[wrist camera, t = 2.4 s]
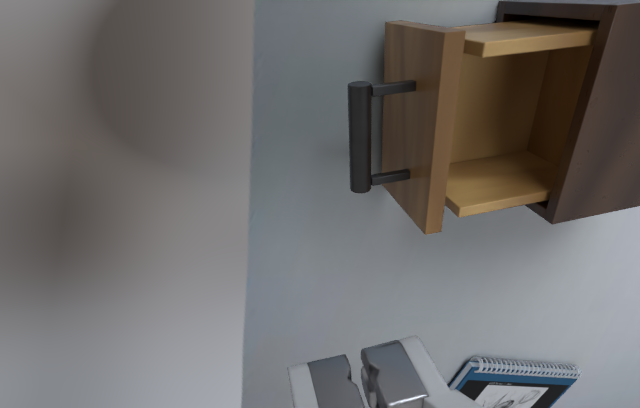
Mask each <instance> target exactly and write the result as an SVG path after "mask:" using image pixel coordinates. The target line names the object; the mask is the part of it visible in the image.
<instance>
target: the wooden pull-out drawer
mask: <svg viewBox="0 0 640 408" xmlns="http://www.w3.org/2000/svg"><path fill="white" fill-rule="evenodd" d="M599 24H600V21H596V20H583V19H570V18H556V17H550V18H540V19H530V20H520V21H510V22H500V23H490V24H480V25H469V26H459V27H449V28H447V27H440V26H434V25H427V24H421V23H414V22H407V21H391V22H385V60H384V83H381V84H373V85H372V84H371V83H370V82H366V81H356V82H351V83H349V84H348V118H349V158H350V189H351V191H353V192H355V193H366V192H368V191H370V189H371V185H372V186H374V185H380V184H382V185H383V186H384V188H385V189H386V190H387V191H388V192H389V193H390V195H391V196H392V197H393V198H394V199H395V200H396V202H397V203H398V204H399V205H400V206H401V207H402V209H403V210H404V211H405V212H406V213H407V214H408V215H409V217H410V218H411V219H412V220H413V221H414V222H415V224H416V225H417V226H418V227H419V228H420V229H421V231H422V232H423V233H424V234H425V235H427V234H432V233H437V232H441V229H442V221H443V213H444V205H446V206H447V207H448V208H449V209H450V210H451V211H452V212H453V213H454V214H455V215H456V216H458V217H465V216H470V215H475V214H480V213H485V212H490V211H495V210H500V209H505V208H510V207H515V206H520V205H525V204H530V203H536V202H541V201H546V200H549V199H550V195H551V192H552V188H553V185H554V181H555V178H556V174H557V171H558V167H559V164H560V160H561V157H562V153H563V150H564V146H565V143H566V139H567V136H568V132H569V129H570V125H571V122H572V118H573V115H574V111H575V108H576V104H577V101H578V97H579V94H580V90H581V87H582V83H583V80H584V76H585V73H586V69H587V66H588V62H589V59H590V55H591V52H592V48H593V45H594V41H595V38H596V34H597V31H598V27H599ZM382 95H384V103H383V147H382V173H378V174H372V175H371V101H372V96H373V97H375V96H382Z"/></svg>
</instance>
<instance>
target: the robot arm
mask: <svg viewBox="0 0 640 408" xmlns="http://www.w3.org/2000/svg"><path fill="white" fill-rule="evenodd" d="M361 360H362V363H363V365H364V366H363V367H362V369H361V379H362V385H363V389H364V393H365V396H366V399H367V402H368V405H369V407H370V408H484V407H482V406H481V405H479V404H478V403H476V402H475V401H473V400H472V399H470V398H469V397H467V396H466V395H464V394H463V393H461V392H459V391H458V390H456V389H455V390H450V389H449V387H448V386H447V384H446V382H445V380H444V379H443V377H442V375H441V374H440V372H439V370H438V369H437V367H436V365H435V364H434V362H433V360H432V359H431V357H430V355H429V354H428V352H427V350H426V349H425V347H424V345H423V343H422V342H421V340H420V339H419V338H418V337H417V336H411V337H408V338H404V339H400V340H394V341H390V342H386V343H382V344H379V345H375V346H371V347H368V348H364V349H362V350H361ZM288 375H289V381H290V387H291V393H292V399H293V405H294V408H365V407H364V404H363V401H362V398H361V395H360V392H359V389H358V386H357V385H356V384H355V383H353V382H352V381H351V367H350V364H349V361H348V359H347V357H346V355H345V354H343V355H338V356H334V357H330V358H325V359H321V360H316V361H312V362H308V363H303V364H299V365H295V366H291V367H288Z"/></svg>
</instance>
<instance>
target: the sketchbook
mask: <svg viewBox="0 0 640 408" xmlns="http://www.w3.org/2000/svg"><path fill="white" fill-rule="evenodd" d="M473 359H475V360H474V361H472V360H473ZM482 359H484V362H483V360H482ZM476 360H478V361H476ZM487 360H489V362H488V361H487ZM492 360H494V361H492ZM497 360H498V362H497ZM502 361H503V362H502ZM506 361H508V362H506ZM510 361H512V363H511V362H510ZM495 362H496V363H495ZM504 362H505V363H504ZM524 362H525V363H524ZM509 363H510V364H509ZM513 363H514V364H513ZM518 364H519V365H518ZM522 364H523V365H522ZM526 364H527V365H526ZM530 364H531V365H532V366H531V365H530ZM534 365H536V366H534ZM539 365H540V366H539ZM543 365H544V366H545V367H543ZM547 365H548V367H547ZM551 365H552V367H550V366H551ZM554 366H556V367H554ZM559 366H560V368H559ZM562 367H564V368H562ZM566 367H568V368H566ZM574 367H575V368H576V369H574ZM571 368H572V369H571ZM578 369H579V370H578ZM579 371H580V374H579ZM580 377H581V370H580V368H579V367H578V366H576V365H569V364H567V365H566V364H557V363H556V364H555V363H545V362H544V363H543V362H534V361H531V362H530V361H521V360H519V361H517V360H507V359H505V360H504V359H497V358H496V359H494V358H491V359H490V358H484V357H482V358H480V357H472V358H471V360H470V361H468V362H467V363H466V364H465V366H464V367H463V368H462V370H461V371H460V372H459V374H458V375H457V376H456V377H455V379H454V380H453V381H452V383H451V384H450V385H449V389H450V390H455V389H456V390H458V391H459V392H461V393H463V394H464V395H466V396H467V397H469V398H470V399H472V400H473V401H475V402H476V403H478V404H479V405H481V406H482V407H484V408H550V407H551V406H552V405H553V404H554V403H555V402H556V401H557V400H558V399H559V398H560V397H561V396H562V395H563V394H564V393H565V392H566V390H567V389H568V388H569V387H570V386H571V385H572V384H573V383H574V382H575V381H576V380H577V379H578V378H580Z"/></svg>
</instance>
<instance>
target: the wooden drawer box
mask: <svg viewBox="0 0 640 408" xmlns="http://www.w3.org/2000/svg"><path fill="white" fill-rule="evenodd" d="M550 17H556V18H570V19H583V20H596V21H600V24H599V27H598V31H597V34H596V38H595V41H594V45H593V48H592V52H591V55H590V59H589V62H588V66H587V69H586V73H585V76H584V80H583V83H582V87H581V90H580V94H579V97H578V101H577V104H576V108H575V111H574V115H573V118H572V122H571V125H570V129H569V132H568V136H567V139H566V143H565V146H564V150H563V153H562V157H561V160H560V164H559V167H558V171H557V174H556V178H555V181H554V185H553V188H552V192H551V195H550V199H549V200H546V201H541V202H536V203H530V204H525V206H526V207H528V208H529V209H531V210H532V211H534V212H535V213H537V214H538V215H539V216H541V217H542V218H544V219H545V220H546V221H548V222H549V223H551V224H556V223H561V222H566V221H570V220H575V219H580V218H585V217H589V216H594V215H599V214H604V213H608V212H613V211H618V210H622V209H627V208H632V207H637V206H640V0H505V1H499V5H498V11H497V17H496V23H500V22H510V21H520V20H530V19H540V18H550Z"/></svg>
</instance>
